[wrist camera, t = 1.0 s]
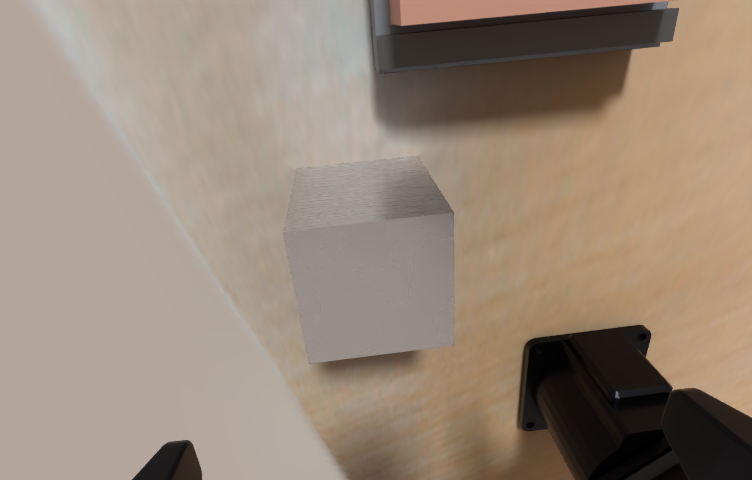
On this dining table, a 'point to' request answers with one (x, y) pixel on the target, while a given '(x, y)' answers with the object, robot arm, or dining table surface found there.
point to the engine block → (371, 259)
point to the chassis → (510, 30)
